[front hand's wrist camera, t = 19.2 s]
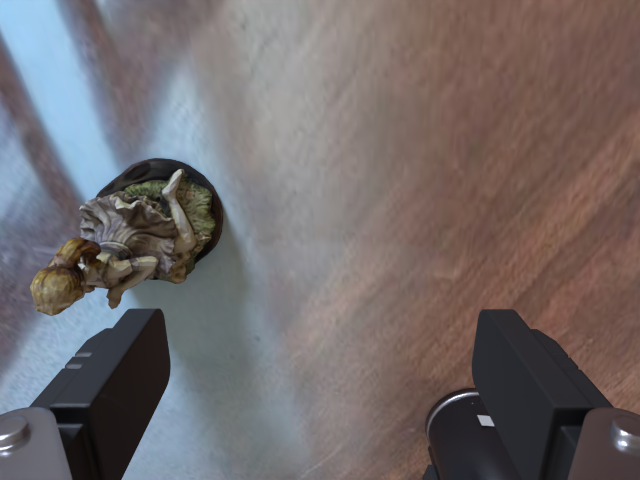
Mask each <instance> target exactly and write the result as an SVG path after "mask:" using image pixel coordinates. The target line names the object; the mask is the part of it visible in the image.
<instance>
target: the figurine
mask: <svg viewBox="0 0 640 480" xmlns="http://www.w3.org/2000/svg"><path fill="white" fill-rule="evenodd" d="M79 210H81V211H82V213H81V215H80V216H81V217H83V220H82V222H81V224H80V228H81V236H80V237H78V238H73V239H70V240H69V241H68V242H67V243H66V245H64V246H62V247H60V249H59V250H58V251H57V252H56V255H55V257H54V258H53V259H52V260H51V261H50V262H49V263H48V266H47V268H45V269H42V270H40V271H39V273H38V274H37V275H36V276H35V278H34V279H33V281H32V284H31V287H30V290H31V293H32V296H33V300H34V302H35V309H36V310H37V311H39V312H42V313H45V314H47V315H50V316H53V315H56V314H59V313H61V312H62V311H63V310H65V309H66V308H68V307H70V306H71V305H72V304H73V303H74V302H76V301H78V300H79V299H81V298H83V297H84V295H85V293H90V292H92V291H94V290H95V287H97V288H105V289H109V290H108V293H107V296H106V297H107V298H108V299H109V303H108V305H109V306H110V308H111V309H114V308H116V307H117V306H118V304H120V301H121V296H122V294H123V293H124V291H125V290H127V289H129V288H131V287H133V286H135V285H136V284H138V283H139V282H141V281H143V280H146V279H153V280H158V279H160V280H165V281H169V282H173V283H175V284H178V283H181V282H183V281H185V280H186V275H188V274H189V273H191V272H192V270H193V269H194V268H195V263H197V262H198V261H199V260H200V259H202V258H203V257H204V256H206V255H207V254H208V253H209V252H210V251H211V250H212V249H213V248H214V247H215V246H216V244H217V242H218V240H219V238H220V235H221V232H222V223H223V211H222V206H221V202H220V199H219V197H218V194H217V192H216V190H215V188H214V186H213V185H212V184H211V183H210V182H209V181H208V180H207V179H206V177H205V176H204V175H202V174H201V173H199V172H198V171H196V170H195V169H194V168H192V167H191V166H189V165H187V164H185V163H183V162H179V161H175V160H172V159H160V158H154V159H148V160H144V161H141V162H138V163H136V164H133V165H131V166H130V167H129V168H127V169H126V170H125V171H124V172H123V173H122V174H121V175H119V176H118V177H117V178H115V179H114V180H113V181H111V182H110V183H109V184H108V185H107V186H105V187H104V188H103V189H102V190H101V191H100V192H99V193H98V194H97V196H96V198H94V199H92V200H89V201H86V203H85V205H84V206H81V207H80V209H79Z"/></svg>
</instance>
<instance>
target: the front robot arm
mask: <svg viewBox="0 0 640 480" xmlns="http://www.w3.org/2000/svg"><path fill="white" fill-rule="evenodd" d="M472 376H473V381H474V385H475V387H476V388H468V389H462V390H459V391H455V392H453V393H451V394H449V395H447V396H445V397H443V398H442V399H441V400H439V401H438V402H437V403H436V404H435V405H434V406H433V408H432V409H431V411H430V412H429V414H428V416H427V419H426V424H425V430H426V435H427V439H428V442H429V445H430V446H429V448H428V451H429V455H430V458H431V461H432V465H428V467H427V469H426V471H425V473H424V475H423V480H640V415H638V414H636V413H633V412H630V411H627V410H624V409H619V408H614V407H613V406H612V404H611V403H610V402H609V401H608V400H607V399H606V398H605V397H604V395H603V394H602V393H601V392H600V391H599V390H598V389H597V387H596V386H595V385H594V384H593V383H592V382H591V381H590V380H589V378H588V377H587V376H586V375H585V374H584V373H583V372H582V370H579V369H578V366H577V365H576V364H575V362H574V361H573V360H572V359H571V358H568V355H567V353H566V352H565V351H564V350H563V349H562V348H561V347H560V345H559V344H558V343H557V342H556V341H555V340H553V339H552V338H550V337H548V336H547V335H545V334H544V333H542V332H540V331H539V330H537V329H530V328H529V327H528V326H527V324H526V323H525V322H524V321H523V319H522V318H521V317H520V316H519V315H518V313H517V312H516V311H515V310H512V309H483V310H481V312H480V314H479V317H478V323H477V330H476V337H475V344H474V351H473V358H472ZM169 377H170V355H169V348H168V341H167V334H166V327H165V319H164V315H163V312H162V310H161V309H128V310H127V311H126V312H125V313H124V315H123V316H122V317H121V318H120V320H119V321H118V322H117V323H116V325H115V326H114V327H113V328H106V329H104V330H103V331H101V332H99V333H98V334H96V335H95V336H93V337H91V338H90V339H88V340H87V341H86V342H85V343H84V344H83V346H82V347H81V348H80V349H79V350H78V351H77V352H76V354H75V357H72V358H71V359H70V360H69V362H68V363H67V364H66V365H65V369H62V370H61V371H60V372H59V373H58V374H57V375H56V377H55V378H54V379H53V380H52V381H51V382H50V383H49V385H48V386H47V387H46V388H45V389H44V390H43V391H42V393H41V394H40V395H39V396H38V397H37V398H36V399H35V401H34V402H33V403H32V404H31V405H30V406H29V407H27V408H21V409H16V410H13V411H10V412H7V413H4V414H2V415H0V480H121V479H122V477H123V475H124V473H125V471H126V469H127V467H128V465H129V463H130V461H131V459H132V457H133V455H134V453H135V451H136V449H137V446H138V444H139V442H140V440H141V438H142V436H143V434H144V432H145V430H146V428H147V426H148V424H149V422H150V420H151V418H152V416H153V414H154V412H155V410H156V408H157V406H158V404H159V401H160V399H161V397H162V395H163V393H164V391H165V389H166V387H167V385H168V381H169Z"/></svg>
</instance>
